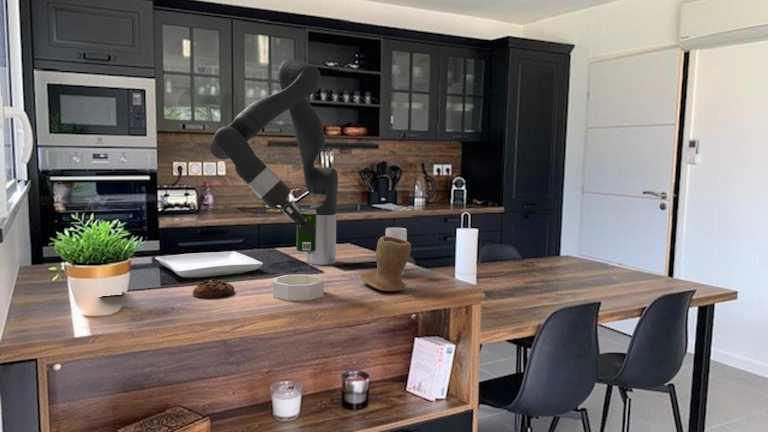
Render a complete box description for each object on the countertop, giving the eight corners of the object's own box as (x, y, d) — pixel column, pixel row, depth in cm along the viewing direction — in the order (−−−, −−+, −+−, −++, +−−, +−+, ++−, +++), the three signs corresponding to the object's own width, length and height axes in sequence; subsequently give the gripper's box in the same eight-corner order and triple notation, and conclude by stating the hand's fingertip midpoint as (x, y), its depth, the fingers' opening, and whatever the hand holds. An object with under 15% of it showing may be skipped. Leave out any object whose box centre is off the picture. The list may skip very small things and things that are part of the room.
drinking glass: (406, 273, 187) (407, 227, 185) (405, 277, 180) (406, 230, 179) (385, 272, 188) (386, 227, 186) (383, 276, 181) (384, 229, 179)
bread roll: (214, 301, 148) (213, 281, 148) (183, 301, 153) (181, 282, 153) (243, 293, 158) (242, 275, 158) (213, 294, 163) (212, 276, 163)
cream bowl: (262, 294, 155) (262, 280, 155) (297, 286, 166) (297, 272, 166) (298, 303, 147) (298, 287, 147) (333, 293, 158) (333, 279, 158)
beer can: (317, 253, 157) (318, 210, 156) (298, 254, 155) (299, 210, 154) (313, 250, 162) (314, 208, 161) (294, 251, 160) (295, 208, 159)
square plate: (264, 273, 183) (264, 261, 183) (176, 283, 168) (176, 270, 168) (234, 260, 206) (234, 249, 205) (154, 267, 190) (154, 255, 190)
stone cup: (416, 292, 162) (418, 239, 160) (377, 295, 157) (379, 241, 156) (394, 281, 176) (395, 232, 174) (358, 283, 171) (359, 233, 169)
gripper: (279, 179, 149) (324, 226, 152) (280, 177, 163) (321, 220, 166) (258, 199, 148) (304, 245, 151) (260, 196, 162) (302, 238, 165)
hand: (313, 232), depth 159 cm, fingers closed on beer can, 5 cm apart
